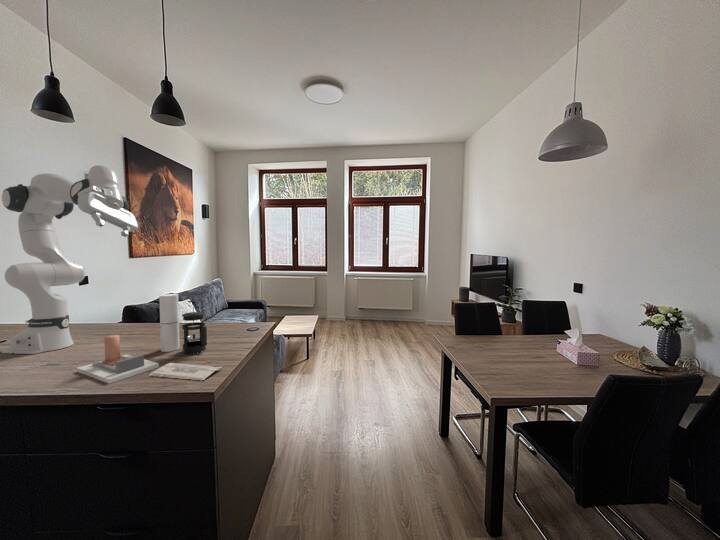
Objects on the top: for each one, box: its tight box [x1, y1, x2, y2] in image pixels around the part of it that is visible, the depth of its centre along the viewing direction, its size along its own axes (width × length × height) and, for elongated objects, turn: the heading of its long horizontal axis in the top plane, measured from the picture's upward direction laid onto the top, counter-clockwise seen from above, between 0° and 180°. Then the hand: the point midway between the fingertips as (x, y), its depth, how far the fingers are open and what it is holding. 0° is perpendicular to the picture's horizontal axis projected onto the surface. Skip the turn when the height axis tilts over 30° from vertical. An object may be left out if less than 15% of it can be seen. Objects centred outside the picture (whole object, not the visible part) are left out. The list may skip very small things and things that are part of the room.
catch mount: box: [76, 354, 160, 385], centre depth 109 cm, size 22×16×6 cm
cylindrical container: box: [158, 293, 180, 353], centre depth 132 cm, size 7×7×25 cm
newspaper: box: [148, 362, 223, 381], centre depth 108 cm, size 23×12×2 cm, turn 80°
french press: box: [181, 299, 208, 355], centre depth 130 cm, size 12×9×23 cm
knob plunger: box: [100, 334, 124, 366], centre depth 111 cm, size 5×5×10 cm
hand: (113, 230), depth 107 cm, fingers open, 8 cm apart
